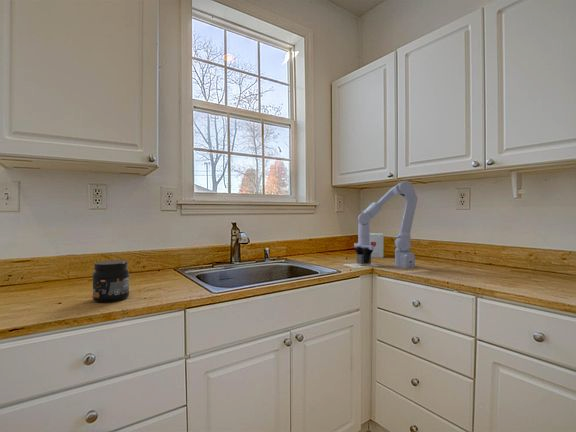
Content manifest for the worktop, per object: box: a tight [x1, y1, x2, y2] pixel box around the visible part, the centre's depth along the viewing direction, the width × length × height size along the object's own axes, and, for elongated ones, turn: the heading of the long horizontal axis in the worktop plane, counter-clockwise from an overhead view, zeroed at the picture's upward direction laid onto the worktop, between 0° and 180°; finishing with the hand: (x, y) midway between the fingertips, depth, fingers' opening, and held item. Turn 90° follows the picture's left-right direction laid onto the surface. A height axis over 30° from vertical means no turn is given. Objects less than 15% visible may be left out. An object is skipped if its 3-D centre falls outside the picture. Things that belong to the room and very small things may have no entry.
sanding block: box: [356, 254, 372, 265], centre depth 162 cm, size 4×6×5 cm, turn 112°
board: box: [341, 262, 381, 269], centre depth 161 cm, size 11×16×1 cm
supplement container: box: [91, 259, 130, 304], centre depth 102 cm, size 10×10×12 cm
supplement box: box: [369, 232, 385, 259], centre depth 202 cm, size 9×9×15 cm
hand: (363, 262), depth 162 cm, fingers closed on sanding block, 4 cm apart
